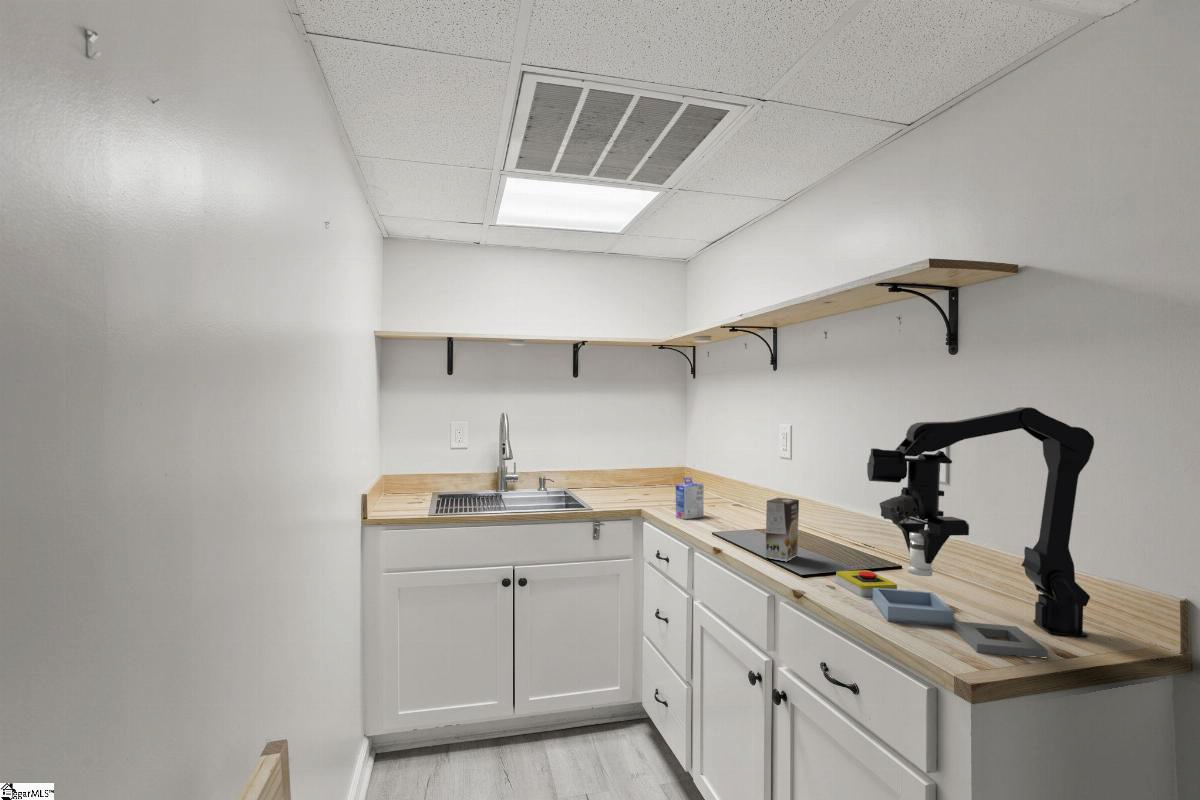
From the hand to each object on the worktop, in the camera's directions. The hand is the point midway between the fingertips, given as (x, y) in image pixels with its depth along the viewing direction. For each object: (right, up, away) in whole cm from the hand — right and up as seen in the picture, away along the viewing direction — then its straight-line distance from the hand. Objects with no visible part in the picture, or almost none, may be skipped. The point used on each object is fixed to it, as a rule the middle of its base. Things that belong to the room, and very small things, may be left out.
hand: (920, 560), depth 121 cm
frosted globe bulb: (0, -3, 0) cm, 3 cm away
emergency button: (-3, -12, +18) cm, 22 cm away
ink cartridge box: (-32, -11, +99) cm, 104 cm away
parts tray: (-1, -12, +2) cm, 12 cm away
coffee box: (-15, -11, +44) cm, 48 cm away
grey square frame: (+7, -12, -12) cm, 19 cm away
